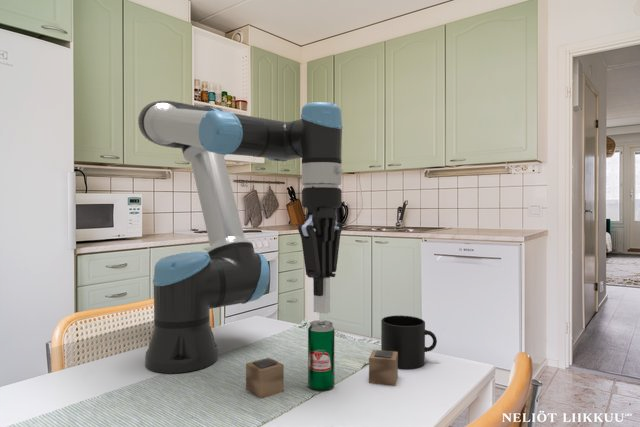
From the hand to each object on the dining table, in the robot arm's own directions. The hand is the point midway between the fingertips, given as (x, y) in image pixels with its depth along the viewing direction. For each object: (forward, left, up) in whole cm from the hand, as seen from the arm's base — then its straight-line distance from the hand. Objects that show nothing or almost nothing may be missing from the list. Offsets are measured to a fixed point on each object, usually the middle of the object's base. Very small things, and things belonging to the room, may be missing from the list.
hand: (321, 311), depth 83 cm
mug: (+10, +21, -14) cm, 27 cm away
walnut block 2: (+9, +9, -14) cm, 19 cm away
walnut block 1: (-8, -7, -14) cm, 18 cm away
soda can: (0, 0, -14) cm, 14 cm away
